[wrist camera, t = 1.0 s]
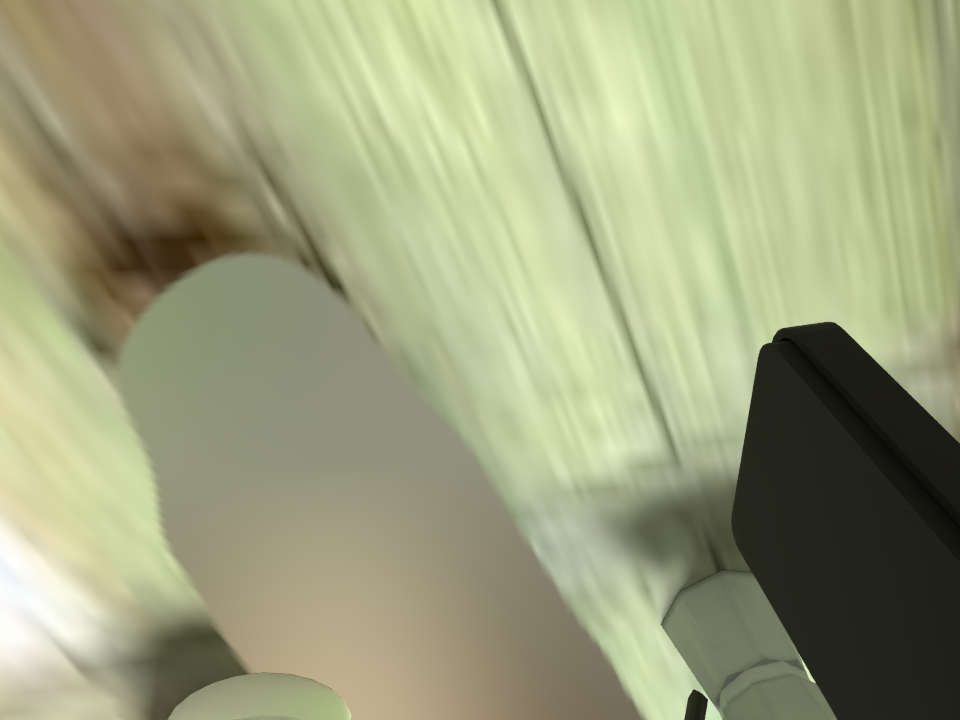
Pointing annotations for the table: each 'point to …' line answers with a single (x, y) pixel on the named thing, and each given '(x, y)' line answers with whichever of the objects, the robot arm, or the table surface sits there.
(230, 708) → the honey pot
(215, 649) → the table surface
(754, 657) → the coffee maker
